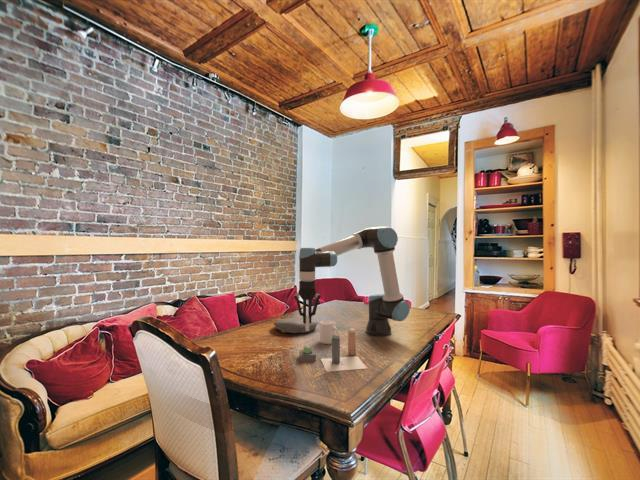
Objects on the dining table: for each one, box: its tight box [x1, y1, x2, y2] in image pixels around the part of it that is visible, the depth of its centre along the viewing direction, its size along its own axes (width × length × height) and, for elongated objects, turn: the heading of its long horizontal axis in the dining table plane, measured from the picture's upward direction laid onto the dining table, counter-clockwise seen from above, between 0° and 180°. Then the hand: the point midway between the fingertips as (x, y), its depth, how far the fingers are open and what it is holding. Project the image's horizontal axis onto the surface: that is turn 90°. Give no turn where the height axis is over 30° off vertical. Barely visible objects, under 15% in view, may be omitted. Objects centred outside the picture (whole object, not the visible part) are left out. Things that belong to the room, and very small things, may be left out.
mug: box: [319, 320, 340, 345], centre depth 166 cm, size 9×12×11 cm
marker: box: [331, 333, 341, 364], centre depth 137 cm, size 4×4×12 cm
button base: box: [298, 348, 317, 363], centre depth 143 cm, size 7×7×3 cm
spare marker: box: [347, 328, 357, 357], centre depth 147 cm, size 4×4×12 cm
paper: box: [320, 355, 368, 373], centre depth 136 cm, size 18×14×1 cm
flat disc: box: [273, 316, 319, 335], centre depth 192 cm, size 28×28×4 cm
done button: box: [302, 345, 313, 354], centre depth 143 cm, size 4×4×4 cm
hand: (307, 330), depth 143 cm, fingers closed
